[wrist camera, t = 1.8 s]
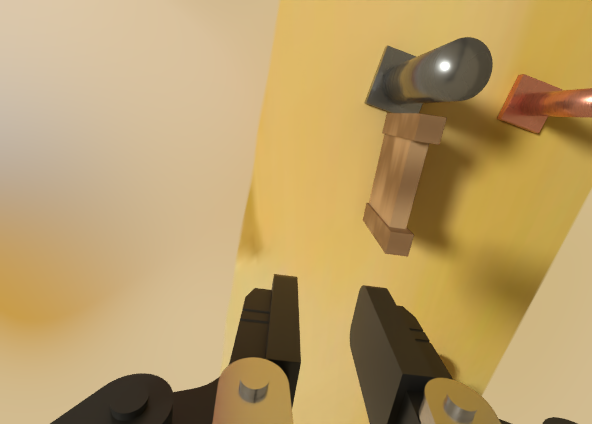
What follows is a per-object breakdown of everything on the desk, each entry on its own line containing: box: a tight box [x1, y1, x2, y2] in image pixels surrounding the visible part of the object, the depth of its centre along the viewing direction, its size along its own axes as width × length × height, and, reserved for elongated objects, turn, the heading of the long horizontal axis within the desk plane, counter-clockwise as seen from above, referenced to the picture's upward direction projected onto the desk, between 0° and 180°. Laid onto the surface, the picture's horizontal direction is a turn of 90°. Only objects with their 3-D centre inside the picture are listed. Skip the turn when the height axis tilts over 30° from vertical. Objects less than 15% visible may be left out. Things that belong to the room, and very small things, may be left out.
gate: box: [363, 113, 447, 256], centre depth 24 cm, size 9×2×7 cm, turn 171°
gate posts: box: [365, 37, 592, 133], centre depth 21 cm, size 6×15×10 cm, turn 72°
